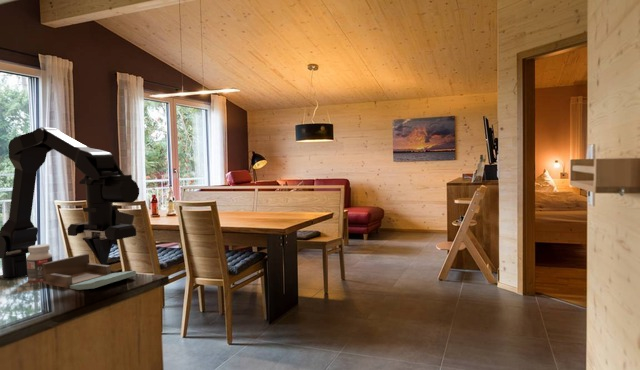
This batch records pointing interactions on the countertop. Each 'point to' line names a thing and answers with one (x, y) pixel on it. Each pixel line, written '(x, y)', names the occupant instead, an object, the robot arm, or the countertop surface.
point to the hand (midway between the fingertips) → (103, 264)
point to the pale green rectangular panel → (103, 280)
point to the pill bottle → (37, 262)
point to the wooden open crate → (72, 271)
